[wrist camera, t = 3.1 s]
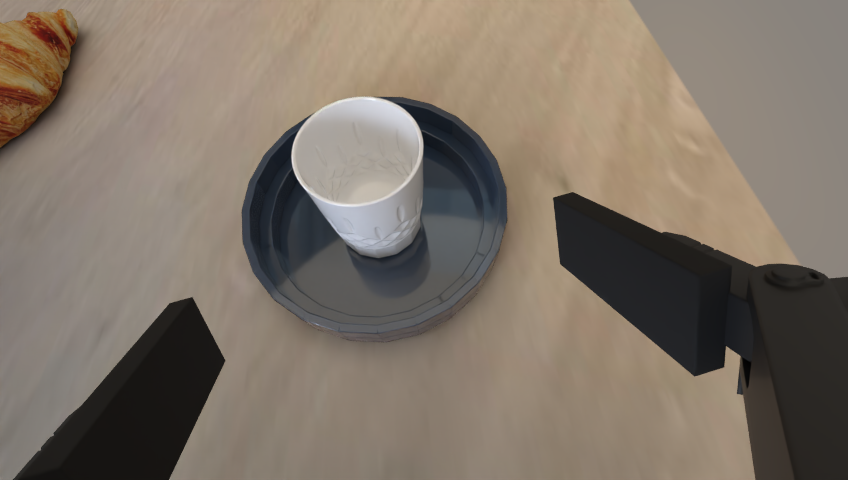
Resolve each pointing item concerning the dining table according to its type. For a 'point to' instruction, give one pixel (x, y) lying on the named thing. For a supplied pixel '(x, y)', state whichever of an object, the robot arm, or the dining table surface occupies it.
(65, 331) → the dining table surface
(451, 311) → the plate
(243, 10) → the dining table surface
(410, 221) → the white cup
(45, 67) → the croissant
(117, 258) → the dining table surface
